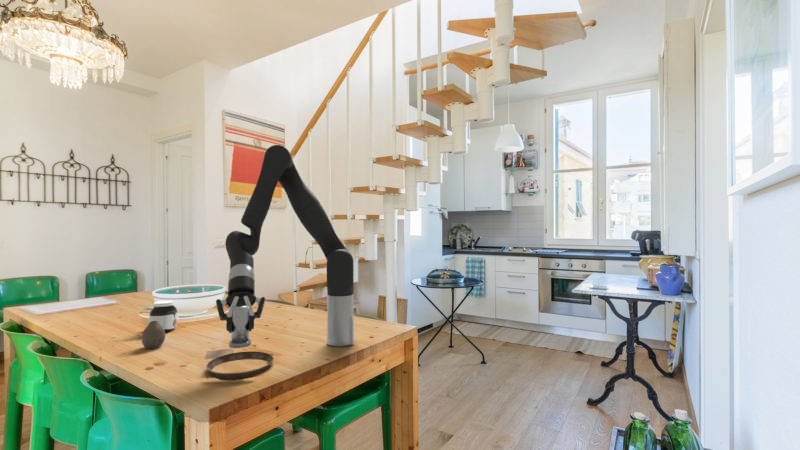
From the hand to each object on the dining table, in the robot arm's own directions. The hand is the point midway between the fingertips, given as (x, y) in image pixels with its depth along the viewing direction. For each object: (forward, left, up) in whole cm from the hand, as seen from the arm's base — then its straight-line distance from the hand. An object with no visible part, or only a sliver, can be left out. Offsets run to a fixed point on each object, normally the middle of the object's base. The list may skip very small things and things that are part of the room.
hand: (240, 330), depth 108 cm
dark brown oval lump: (+38, -27, -12) cm, 48 cm away
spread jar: (+48, -50, -12) cm, 71 cm away
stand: (+11, -15, -12) cm, 22 cm away
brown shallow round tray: (0, -2, -12) cm, 13 cm away
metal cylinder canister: (+1, -2, -5) cm, 5 cm away
